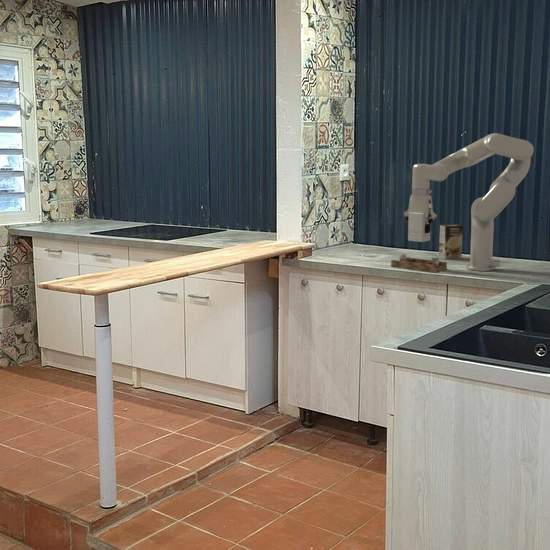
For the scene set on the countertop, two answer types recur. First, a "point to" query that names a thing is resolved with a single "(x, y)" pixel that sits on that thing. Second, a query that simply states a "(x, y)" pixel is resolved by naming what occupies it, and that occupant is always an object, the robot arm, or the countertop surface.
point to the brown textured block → (419, 264)
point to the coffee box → (450, 241)
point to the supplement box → (417, 228)
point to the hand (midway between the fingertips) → (419, 231)
